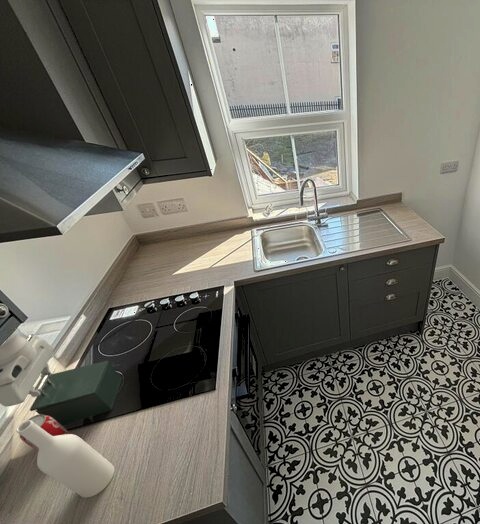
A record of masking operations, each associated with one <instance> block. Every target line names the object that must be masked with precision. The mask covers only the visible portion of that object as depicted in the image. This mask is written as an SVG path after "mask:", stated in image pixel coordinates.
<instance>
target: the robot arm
mask: <svg viewBox="0 0 480 524" xmlns="http://www.w3.org/2000/svg"><path fill="white" fill-rule="evenodd" d="M54 353H55V350H54V346H52V345H51V344H50V343H49V342H48V341H47V340H45V339H43V338H40V337H39V335H37V334H35V333H31V334H28V335H27V336H26V337H24V336H21V335H20V334H19V333H18V330H17V329H16V331H15V332H14V333H13V334H12V335H11V336H10V338H9V339H7V340H6V342H5V343H4V344H3V345H2V346H0V405H1V406H3V407H7V408H8V407H12V406H13V407H14V406H17V405H20V404H23V403H24V402H25V401H26V399H27V398H28V396H29V395H30V396H32V398H36V397H37V396H40V394H41V392H42V390H41V389H40V388H37V389H35V387H34V386H35V384H36V382H37V380H38V379H39V378H41V377H42V376H43V375H48V376H49V378H50V376H51V375H52V374H53V373H52V372H51V371H50V366H49V364H48V363H49V360H50V359H51V357H52V355H53V354H54Z"/></svg>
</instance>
